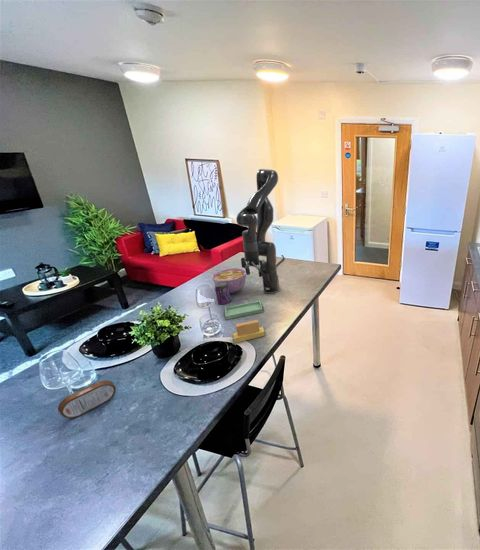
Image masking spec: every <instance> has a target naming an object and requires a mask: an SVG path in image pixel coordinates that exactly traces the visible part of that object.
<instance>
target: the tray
mask: <svg viewBox="0 0 480 550" xmlns="http://www.w3.org/2000/svg"><path fill="white" fill-rule="evenodd" d="M263 312H264V310H263V306H262V303H261V300H257V301H256V300H255V301H252V302H251V301H250V302H246V303H241V304H235V305H231V306H225V307H224V314H225V315H224V317H225V320H230V319H236V318H240V317H245V316H250V315H251V316H252V315H255V314H260V313H263Z"/></svg>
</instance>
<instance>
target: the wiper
mask: <svg viewBox="0 0 480 550" xmlns="http://www.w3.org/2000/svg"><path fill="white" fill-rule="evenodd" d="M235 327H236V332H233V333H232V335H233V341H234V343H235V344H236V343H241V342H245V341H249V340H255V339H257V338H261V337H265V335H266V333H265V329H264V326H260V324H259V320H258V319H255V320H250V321H249V320H248V321H243V322H240V323H236V324H235Z"/></svg>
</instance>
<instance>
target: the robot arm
mask: <svg viewBox="0 0 480 550" xmlns="http://www.w3.org/2000/svg"><path fill="white" fill-rule="evenodd" d="M278 174H279V173H278V172H277V171H276V170H274V169H269V168H268V169H265V168H260V169H258V170H257V172H256V177H255V178H256V191H255V192H254V193H253V194H252V195H251V196H250V197H249V200H248V201H247V204H246V205H245V206H243V208H242V209H241V210H240V211H239V212H238V213H237V214H236V218H235V220H236V224H237V225H238V226H240V227H244V228H245V227H247V229H246V230H243V231H242V232H241V238H242V245H243V246H242V247H243V254H244V256H243V257H241V258H240V262H241V263H240V264H241V269H244V270H245V271H246V276H250V275H251V270H250V267H253V268H255V269H257V271H258V277H259V278H261V279H262V287H263V292H264V293H265V294H268V295H270V294H271V295H272V294H277V293H278V292H279V291H280V282H279V275H278V270H277V267H278V266H279V265H280V264H281V263H282V262H283V261H284V260H285V256H284V255H283V254H282V255H280V256H281V257H282V259H281V260H280V261H279V262H278V263H277V248H276V245H275V243H274V242H272V241H266V235H267V232H268V230H269V229H270V227H271V225H272V224H273V222H274V207H273V205H272V203H271V201H270V199H269V195H270V194H271V192H272V191H273V190H274V188H275V187H276V186H277V184H278V182H279V175H278ZM260 257H265V258H266V259H260Z"/></svg>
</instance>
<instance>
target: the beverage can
mask: <svg viewBox="0 0 480 550" xmlns="http://www.w3.org/2000/svg"><path fill="white" fill-rule="evenodd" d="M214 292H215V296H216V301H217V304H220V305H225V304H228V303H229V302H231V295H230V294H231V293H229V289H228V285H227V284H226V282H219V283H216V284H215V283H214Z"/></svg>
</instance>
